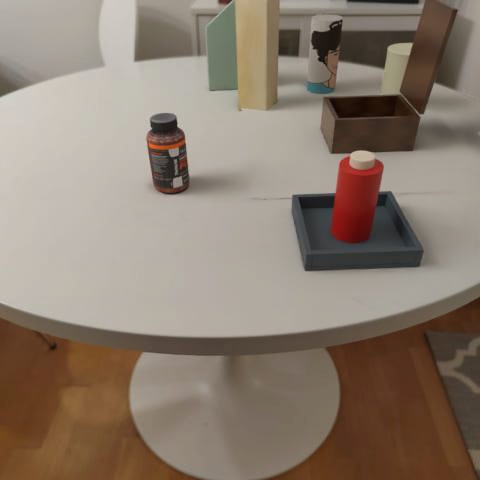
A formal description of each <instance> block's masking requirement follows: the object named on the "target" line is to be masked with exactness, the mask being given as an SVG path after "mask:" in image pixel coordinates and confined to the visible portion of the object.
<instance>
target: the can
mask: <svg viewBox="0 0 480 480" xmlns="http://www.w3.org/2000/svg"><path fill="white" fill-rule="evenodd" d="M412 45H413V42H400V43H394V44H390V45H388V47H387V48H386V49H387V51H386V57H385V64H384V69H383V75H382V81H381V86H380V93H379V95H390V94H401V93H400V92H399V91H400V87H401V84H402V80H403V77H404V73H405V70H406V66H407V62H408V59H409V55H410V52H411V48H412ZM401 95H402V94H401ZM402 96H403V95H402ZM403 97H404V96H403ZM404 99H405V100H406V98H405V97H404ZM406 101H407V100H406ZM407 102H408V101H407ZM408 103H409V102H408ZM409 104H410V103H409ZM410 105H411V104H410ZM411 107H412V108H413V109H414V107H413V106H412V105H411ZM414 110H415V109H414Z"/></svg>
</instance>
